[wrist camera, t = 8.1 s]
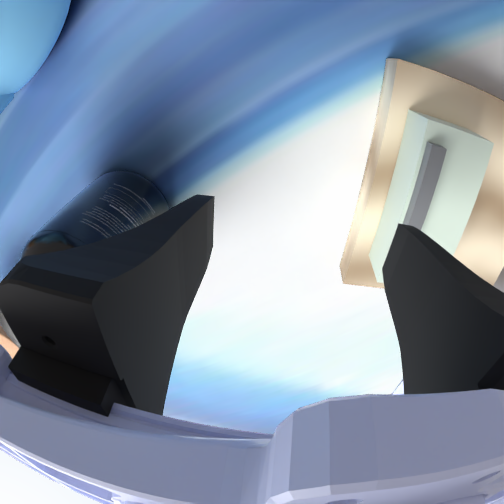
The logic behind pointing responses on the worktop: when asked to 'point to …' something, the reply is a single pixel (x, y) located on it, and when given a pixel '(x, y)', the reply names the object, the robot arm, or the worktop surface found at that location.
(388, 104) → the housing
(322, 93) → the worktop surface
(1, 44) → the teapot
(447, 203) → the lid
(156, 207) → the supplement bottle
